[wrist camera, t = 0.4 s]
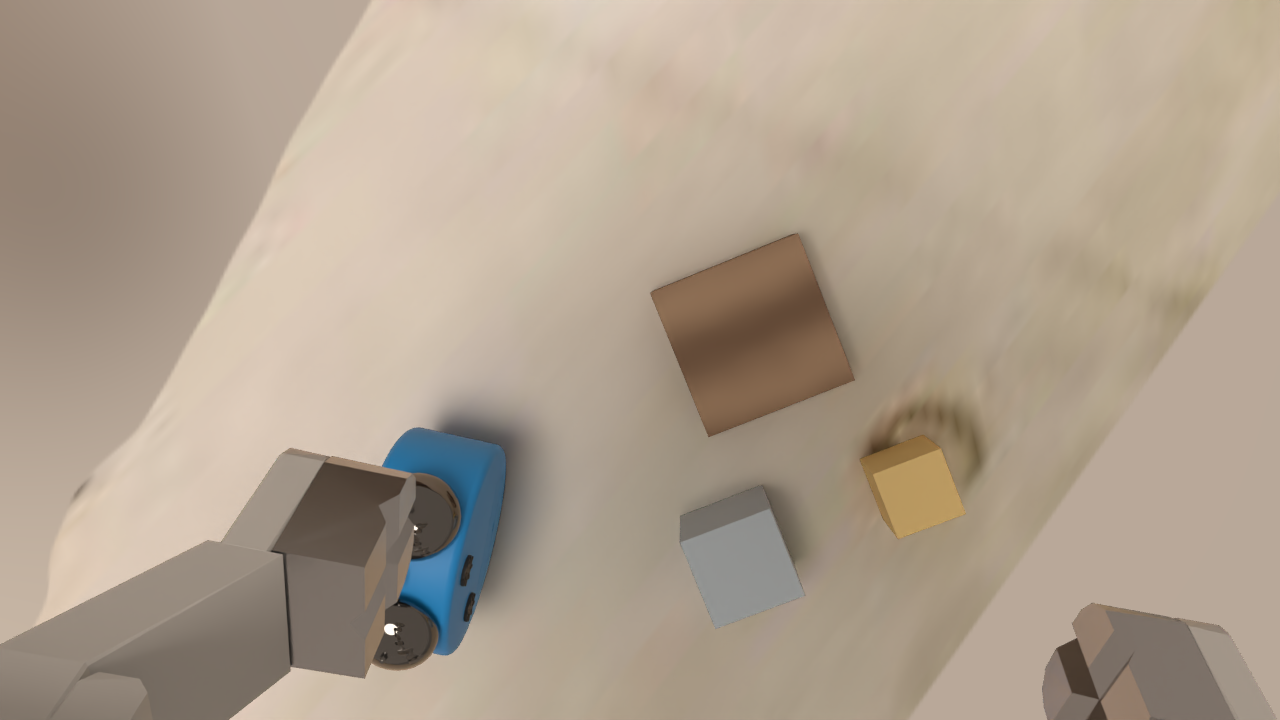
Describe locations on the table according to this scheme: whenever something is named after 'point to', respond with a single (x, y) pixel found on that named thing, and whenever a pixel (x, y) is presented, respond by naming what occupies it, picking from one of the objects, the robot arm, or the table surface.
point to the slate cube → (739, 557)
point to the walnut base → (752, 335)
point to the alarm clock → (442, 543)
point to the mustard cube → (912, 486)
